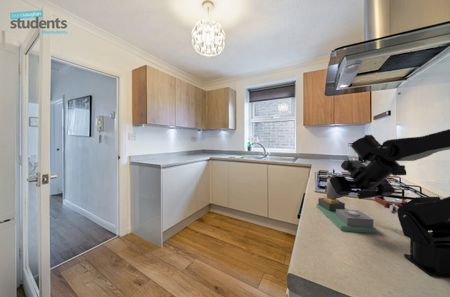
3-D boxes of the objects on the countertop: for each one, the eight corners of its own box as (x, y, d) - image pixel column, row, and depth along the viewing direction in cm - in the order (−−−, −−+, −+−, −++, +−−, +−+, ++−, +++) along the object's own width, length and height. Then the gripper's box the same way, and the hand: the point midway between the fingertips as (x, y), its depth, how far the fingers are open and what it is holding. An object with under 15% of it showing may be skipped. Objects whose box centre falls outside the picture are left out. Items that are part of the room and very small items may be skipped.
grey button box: (373, 227, 54) (373, 218, 53) (347, 225, 55) (347, 216, 55) (358, 217, 61) (358, 209, 61) (335, 215, 62) (335, 208, 62)
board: (375, 233, 53) (375, 228, 53) (340, 230, 55) (341, 225, 54) (340, 208, 74) (341, 204, 74) (316, 206, 75) (316, 203, 75)
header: (344, 210, 67) (344, 203, 67) (330, 211, 66) (330, 204, 66) (331, 204, 74) (331, 197, 74) (318, 204, 73) (318, 198, 73)
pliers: (377, 211, 70) (377, 205, 70) (374, 199, 86) (374, 194, 86) (417, 219, 63) (418, 213, 63) (406, 204, 79) (406, 199, 79)
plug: (339, 209, 68) (339, 180, 68) (330, 210, 68) (331, 180, 67) (331, 205, 72) (331, 178, 72) (323, 205, 72) (323, 178, 72)
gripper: (386, 154, 57) (358, 180, 68) (333, 152, 57) (314, 178, 68) (412, 181, 49) (376, 205, 60) (351, 179, 49) (326, 204, 60)
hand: (346, 197), depth 62 cm, fingers open, 9 cm apart
